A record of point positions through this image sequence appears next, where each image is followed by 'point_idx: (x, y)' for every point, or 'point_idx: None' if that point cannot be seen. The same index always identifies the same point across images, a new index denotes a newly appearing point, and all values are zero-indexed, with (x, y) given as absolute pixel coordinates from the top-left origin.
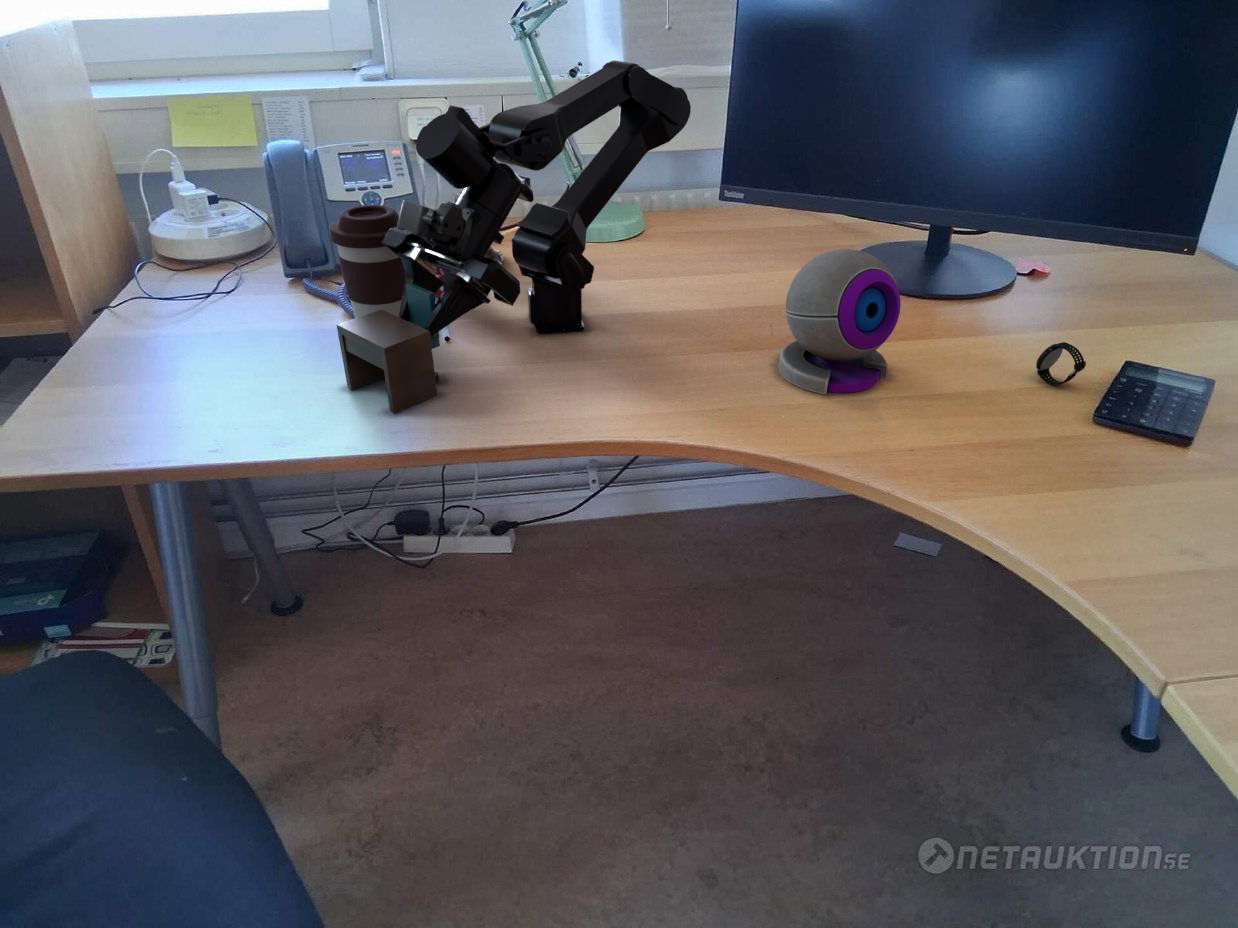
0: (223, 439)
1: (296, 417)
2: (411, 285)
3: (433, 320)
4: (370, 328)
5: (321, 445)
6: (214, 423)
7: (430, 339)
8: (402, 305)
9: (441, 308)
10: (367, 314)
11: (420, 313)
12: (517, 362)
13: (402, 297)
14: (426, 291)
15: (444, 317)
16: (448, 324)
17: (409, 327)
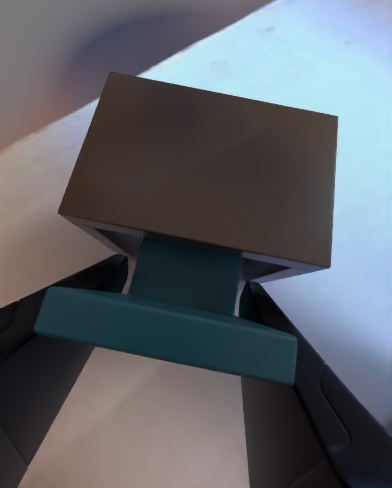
0: (283, 47)
1: None
2: (257, 352)
3: (80, 272)
4: (237, 140)
5: (174, 83)
6: (325, 63)
7: (141, 292)
8: (276, 313)
9: (20, 300)
10: (330, 210)
11: (174, 305)
12: (56, 475)
13: (305, 339)
14: (95, 320)
15: None
16: None
17: (136, 200)
